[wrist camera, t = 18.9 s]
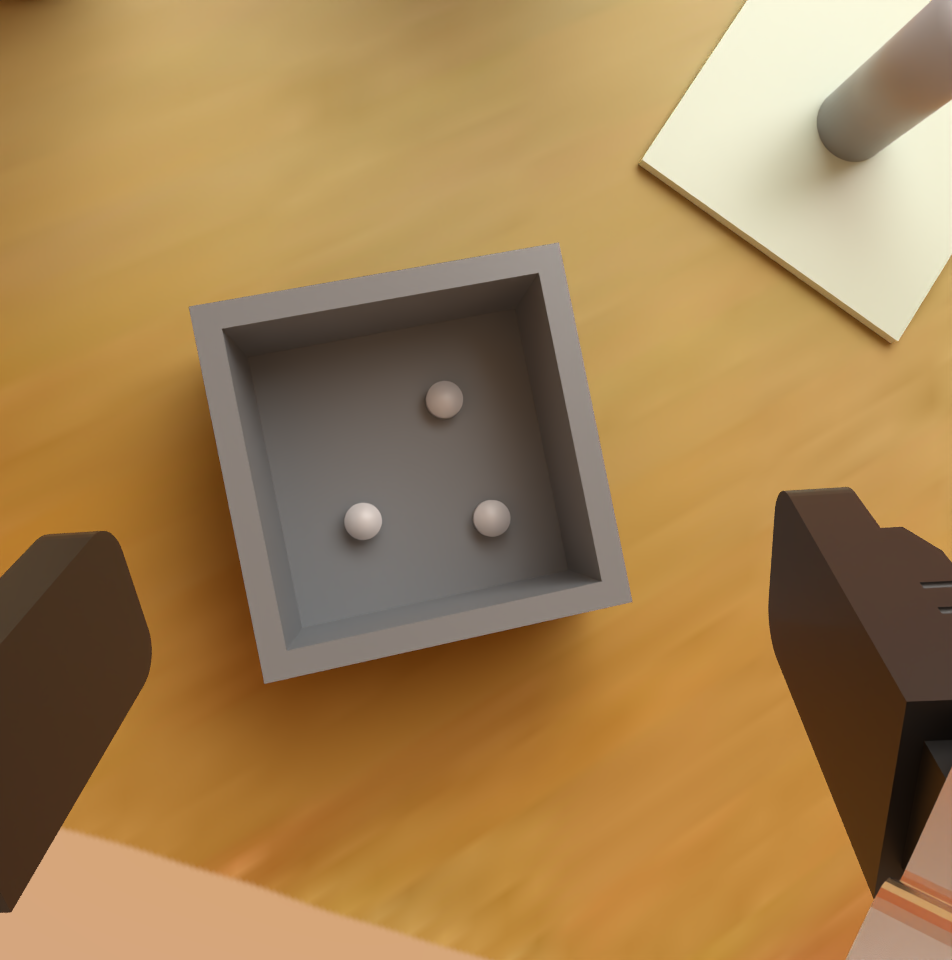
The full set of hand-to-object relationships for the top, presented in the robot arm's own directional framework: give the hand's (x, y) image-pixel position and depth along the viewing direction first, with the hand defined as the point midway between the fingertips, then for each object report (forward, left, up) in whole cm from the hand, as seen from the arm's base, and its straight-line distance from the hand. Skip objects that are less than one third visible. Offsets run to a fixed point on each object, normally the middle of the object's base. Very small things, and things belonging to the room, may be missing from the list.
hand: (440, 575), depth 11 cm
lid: (-14, +25, -29) cm, 41 cm away
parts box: (-3, +1, -29) cm, 29 cm away
